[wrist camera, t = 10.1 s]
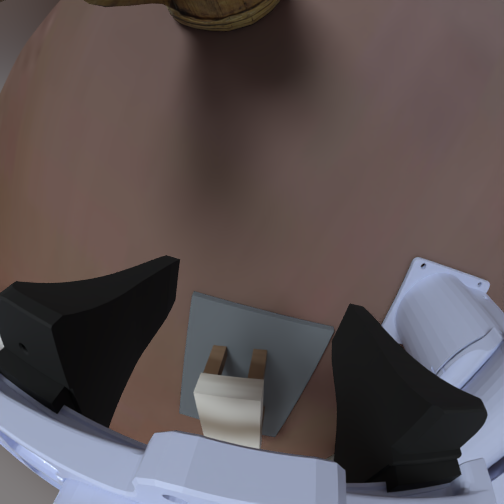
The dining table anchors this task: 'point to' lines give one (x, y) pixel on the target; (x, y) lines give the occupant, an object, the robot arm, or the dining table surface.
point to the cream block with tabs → (232, 400)
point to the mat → (241, 349)
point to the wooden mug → (206, 11)
